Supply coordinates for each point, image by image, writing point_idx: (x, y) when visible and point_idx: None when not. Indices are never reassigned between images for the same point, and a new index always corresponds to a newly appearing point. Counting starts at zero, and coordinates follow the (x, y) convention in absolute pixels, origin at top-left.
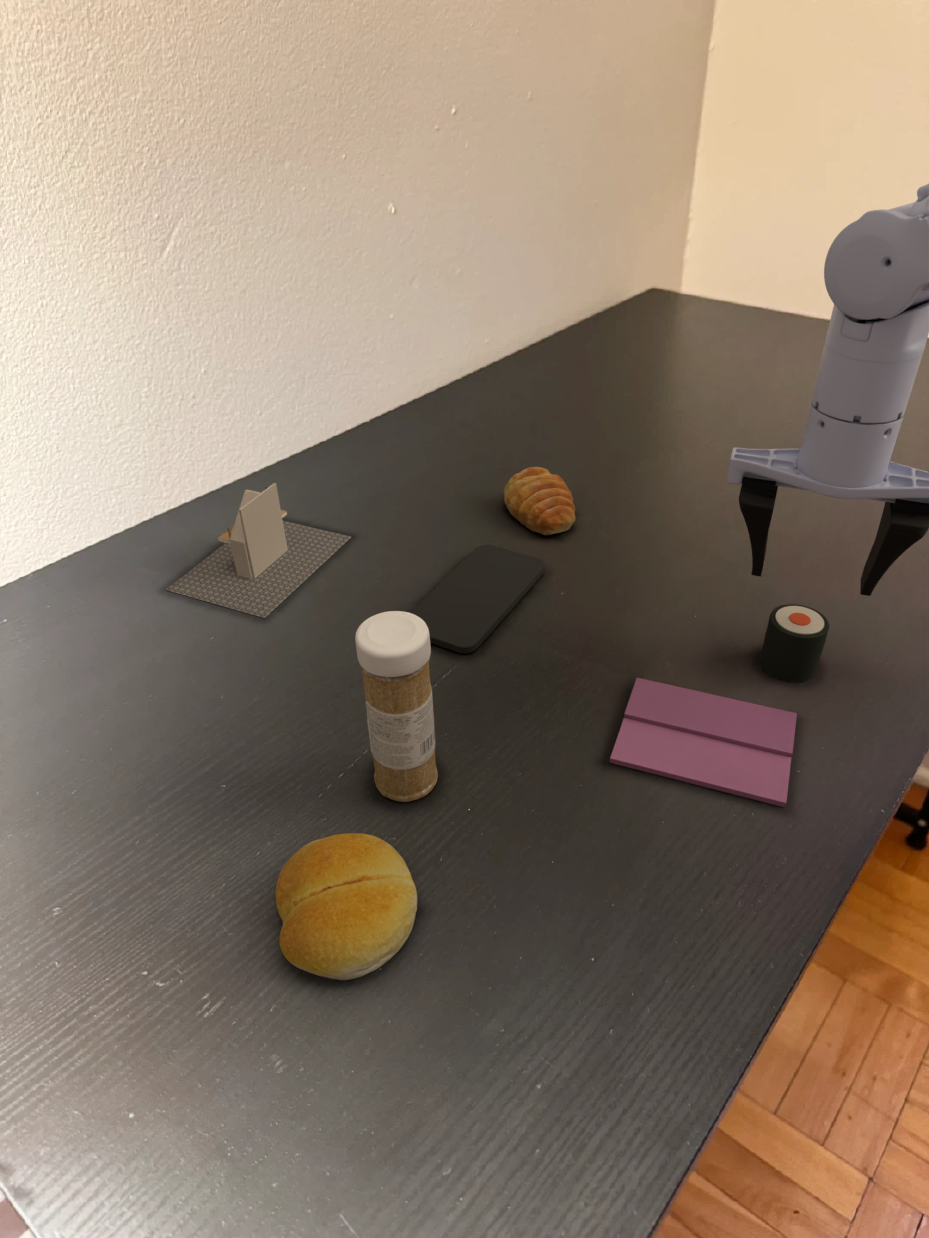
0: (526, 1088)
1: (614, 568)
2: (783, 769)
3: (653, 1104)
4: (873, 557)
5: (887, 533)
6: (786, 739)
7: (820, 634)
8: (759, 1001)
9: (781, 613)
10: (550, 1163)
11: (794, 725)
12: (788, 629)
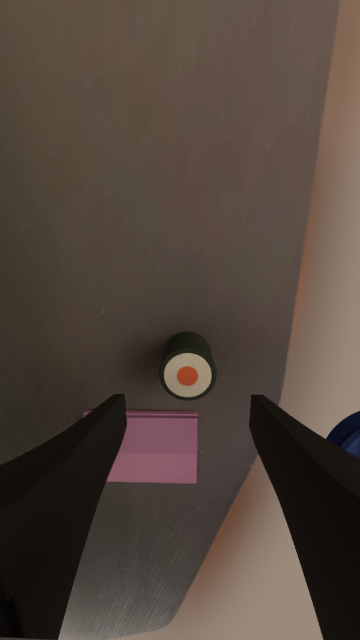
0: (120, 608)
1: (8, 257)
2: (193, 461)
3: (163, 603)
4: (276, 465)
5: (323, 636)
6: (192, 444)
7: (208, 390)
8: (194, 567)
9: (169, 372)
10: (136, 621)
11: (196, 431)
12: (178, 395)
